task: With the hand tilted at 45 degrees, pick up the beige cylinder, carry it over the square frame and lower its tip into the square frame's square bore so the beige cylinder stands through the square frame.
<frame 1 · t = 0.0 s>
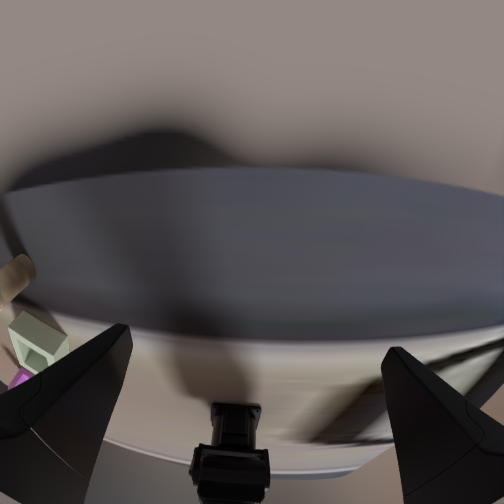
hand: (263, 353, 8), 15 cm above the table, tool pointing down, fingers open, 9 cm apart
square frame: (47, 342, 30), on the table
beige cylinder: (26, 267, 25), on the table
bracket: (44, 391, 37), on the table
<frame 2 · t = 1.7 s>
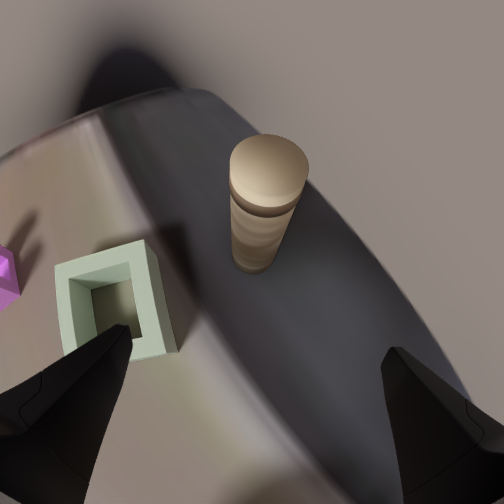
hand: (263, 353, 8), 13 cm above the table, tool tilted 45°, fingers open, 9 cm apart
square frame: (121, 313, 21), on the table
beige cylinder: (253, 253, 24), on the table
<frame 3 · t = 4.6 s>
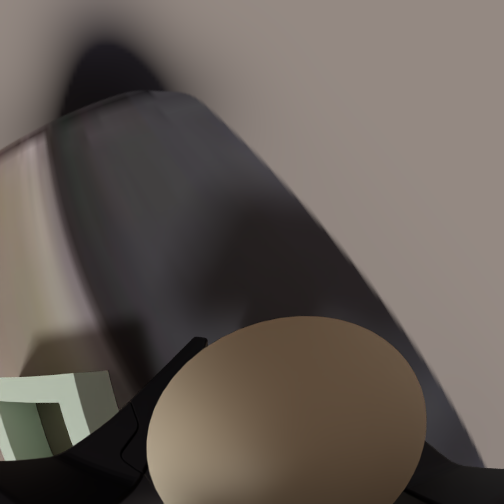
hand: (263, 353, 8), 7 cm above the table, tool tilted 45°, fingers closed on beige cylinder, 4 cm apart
square frame: (73, 436, 12), on the table
beige cylinder: (249, 376, 14), on the table, touching gripper
when the fingers open (9 cm above the table, at t = 8.9 s): beige cylinder drops 2 cm, resting in square frame.
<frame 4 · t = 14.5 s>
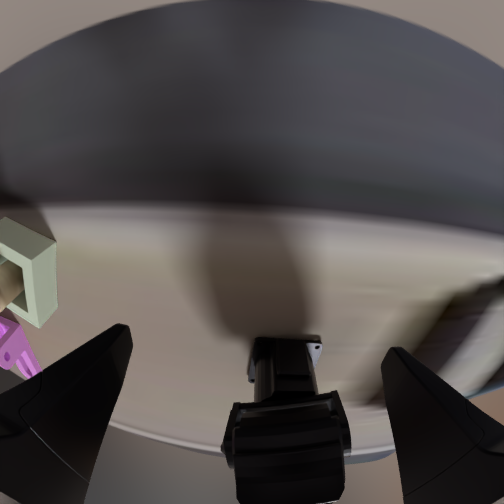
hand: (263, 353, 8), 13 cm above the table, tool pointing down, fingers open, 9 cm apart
square frame: (29, 262, 22), on the table
beige cylinder: (29, 263, 22), resting in square frame
bracket: (25, 350, 30), on the table
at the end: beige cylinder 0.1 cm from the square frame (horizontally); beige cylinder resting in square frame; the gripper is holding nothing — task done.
